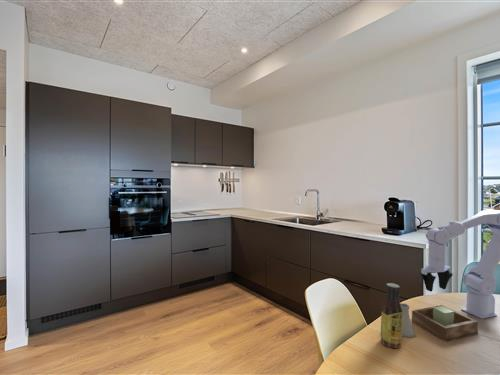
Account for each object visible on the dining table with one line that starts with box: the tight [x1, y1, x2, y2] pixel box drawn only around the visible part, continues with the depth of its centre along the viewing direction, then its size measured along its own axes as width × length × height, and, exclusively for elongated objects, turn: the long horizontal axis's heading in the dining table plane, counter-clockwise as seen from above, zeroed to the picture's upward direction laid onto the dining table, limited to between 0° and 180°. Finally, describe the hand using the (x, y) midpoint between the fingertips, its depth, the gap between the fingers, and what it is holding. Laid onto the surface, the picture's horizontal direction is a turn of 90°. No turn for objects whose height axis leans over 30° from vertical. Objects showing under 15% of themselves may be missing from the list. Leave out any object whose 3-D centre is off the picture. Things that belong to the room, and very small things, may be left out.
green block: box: [433, 305, 455, 326], centre depth 98 cm, size 4×4×6 cm
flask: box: [400, 302, 416, 338], centre depth 95 cm, size 7×7×10 cm
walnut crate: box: [411, 304, 479, 342], centre depth 98 cm, size 16×13×4 cm
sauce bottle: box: [380, 282, 403, 349], centre depth 88 cm, size 6×6×20 cm
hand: (435, 289), depth 110 cm, fingers open, 7 cm apart
